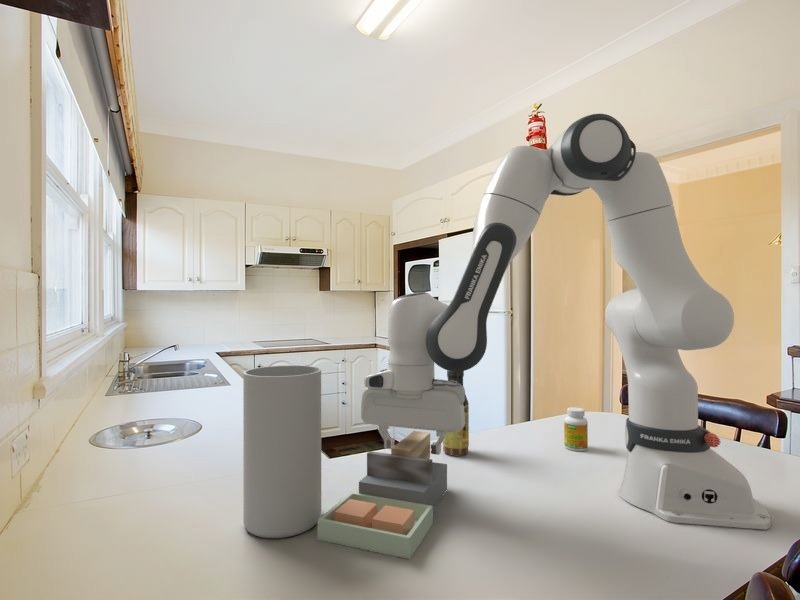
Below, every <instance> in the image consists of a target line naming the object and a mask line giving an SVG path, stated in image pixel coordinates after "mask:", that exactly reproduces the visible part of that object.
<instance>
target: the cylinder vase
mask: <svg viewBox="0 0 800 600" xmlns="http://www.w3.org/2000/svg"><path fill="white" fill-rule="evenodd" d="M242 382H243V387H242V389H243V395H242V396H243V397H242V398H243V403H242V404H243V405H242V408H243V409H242V411H243V416H242V417H243V426H242V427H243V428H242V429H243V433H242V434H243V437H242V438H243V439H242V441H243V446H242V447H243V448H242V449H243V453H242V454H243V456H242V457H243V458H242V459H243V462H242V463H243V466H242V467H243V470H242V471H243V473H242V474H243V496H242V497H243V500H242V501H243V508H242V509H243V514H242V515H243V518H242V519H243V525H244V528H245V529H246V531H247V532H248V533H250V534H251V535H253V536H257V537H259V538H263V539H282V538H289V537H294V536H297V535H300V534H302V533H305V532H308V531H309V530H311V529H312V528H313V527H315V525H316V524H318V519H319V518H320V517H322V368H320V367H317V366H311V365H272V366H261V367H255V368H250V369H246V370H244V371H243V381H242Z"/></svg>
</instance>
